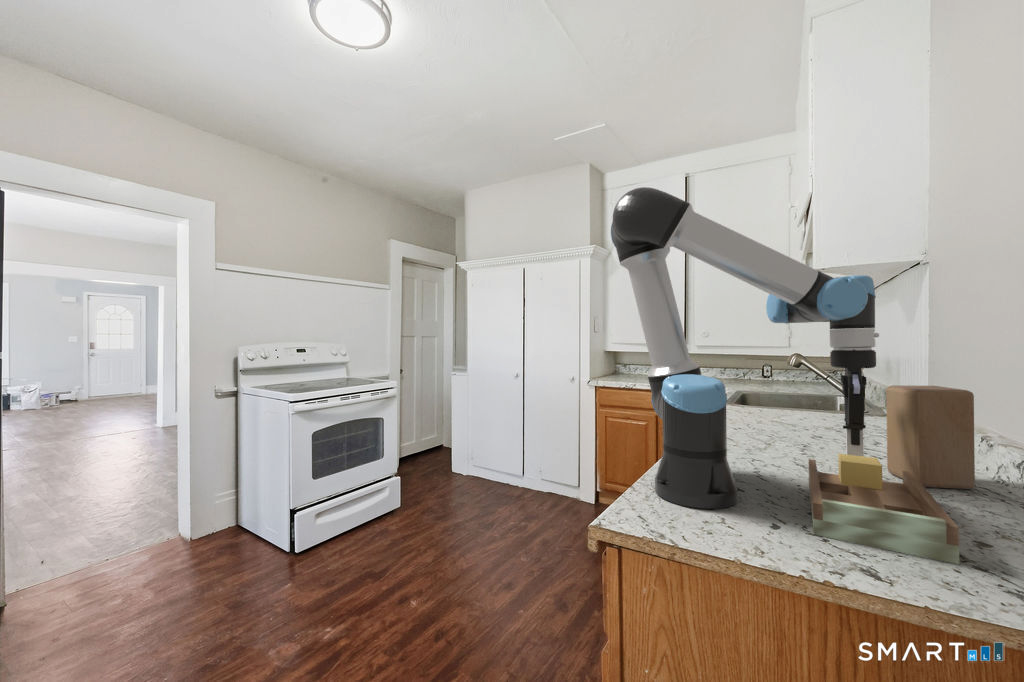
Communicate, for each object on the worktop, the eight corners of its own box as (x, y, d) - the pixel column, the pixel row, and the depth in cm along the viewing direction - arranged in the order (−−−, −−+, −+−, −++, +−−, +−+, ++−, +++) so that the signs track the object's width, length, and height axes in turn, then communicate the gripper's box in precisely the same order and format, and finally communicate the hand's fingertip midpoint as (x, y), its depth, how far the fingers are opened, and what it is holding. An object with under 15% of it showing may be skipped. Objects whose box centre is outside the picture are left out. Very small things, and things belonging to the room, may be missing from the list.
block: (977, 491, 82) (976, 390, 82) (918, 488, 84) (917, 390, 84) (937, 474, 92) (936, 385, 92) (885, 472, 94) (883, 384, 94)
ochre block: (841, 484, 80) (840, 460, 80) (838, 475, 85) (838, 453, 85) (882, 490, 76) (882, 465, 76) (877, 480, 81) (876, 458, 81)
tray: (813, 534, 65) (813, 499, 65) (808, 482, 88) (808, 456, 88) (959, 564, 56) (958, 524, 56) (911, 497, 79) (911, 469, 79)
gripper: (881, 349, 80) (883, 470, 81) (870, 347, 91) (873, 454, 91) (832, 350, 85) (835, 464, 85) (828, 348, 95) (830, 449, 95)
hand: (854, 459), depth 88 cm, fingers closed
